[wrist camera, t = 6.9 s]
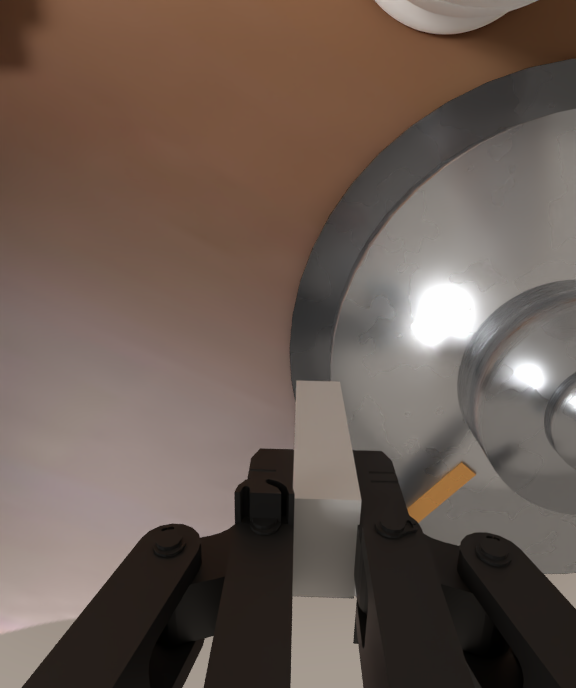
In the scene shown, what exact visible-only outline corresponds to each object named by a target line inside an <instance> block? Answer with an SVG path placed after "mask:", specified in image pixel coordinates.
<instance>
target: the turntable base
mask: <svg viewBox="0 0 576 688" xmlns="http://www.w3.org/2000/svg"><path fill="white" fill-rule="evenodd" d="M572 109H576V59H569V60H565V61H560V62H555V63H550V64H545V65H540V66H535V67H531V68H527V69H524V70H521V71H518V72H516V73H513V74H510V75H507V76H504V77H501V78H498V79H495V80H492V81H490V82H487V83H485V84H483V85H481V86H479V87H477V88H475V89H473V90H471V91H469V92H467V93H465V94H463V95H461V96H459V97H457V98H455V99H453V100H451V101H449V102H447V103H445V104H444V105H442V106H441V107H439V108H438V109H436V110H435V111H433V112H432V113H430V114H429V115H427V116H426V117H424V118H423V119H421V120H420V121H418V122H417V123H415V124H414V125H412V126H411V127H409V128H408V129H407V130H406V131H405V132H404V133H402V134H401V135H400V136H399V137H398V138H397V139H395V140H394V141H393V142H392V143H391V144H390V145H388V146H387V147H386V148H385V149H384V150H383V151H381V152H380V153H379V154H378V155H377V156H376V157H375V159H374V160H373V161H372V162H371V163H370V164H369V165H368V166H367V167H366V169H365V170H364V171H363V172H362V173H361V174H360V175H359V176H358V177H357V178H356V180H355V181H354V182H353V183H352V184H351V186H350V187H349V188H348V190H347V191H346V193H345V194H344V196H343V197H342V198H341V200H340V201H339V203H338V204H337V206H336V207H335V208H334V210H333V211H332V213H331V214H330V216H329V218H328V220H327V221H326V223H325V225H324V227H323V229H322V231H321V233H320V235H319V237H318V238H317V240H316V242H315V244H314V246H313V248H312V251H311V254H310V256H309V259H308V262H307V264H306V267H305V270H304V272H303V275H302V278H301V281H300V285H299V289H298V294H297V298H296V303H295V307H294V311H293V317H292V328H291V340H290V364H291V381H292V386H293V391H294V397H295V402H296V380H297V381H331V379H330V346H331V338H332V329H333V322H334V318H335V315H336V311H337V307H338V303H339V299H340V295H341V293H342V290H343V288H344V285H345V283H346V280H347V278H348V275H349V273H350V270H351V268H352V266H353V264H354V262H355V261H356V259H357V257H358V255H359V253H360V252H361V250H362V248H363V246H364V245H365V243H366V241H367V239H368V238H369V237H370V235H371V234H372V232H373V231H374V230H375V228H376V227H377V226H378V224H379V223H380V222H381V220H382V219H383V218H384V216H385V215H386V214H387V212H388V211H389V210H390V209H391V208H392V207H393V206H394V205H395V204H396V203H397V202H398V201H399V200H400V199H401V198H402V197H403V195H404V194H405V193H406V192H407V191H408V190H409V189H410V188H411V187H412V186H414V185H415V184H416V183H417V182H418V181H420V180H421V179H422V178H423V177H424V176H426V175H427V174H428V173H429V172H431V171H432V170H433V169H434V168H435V167H437V166H438V165H439V164H441V163H442V162H444V161H446V160H447V159H449V158H450V157H452V156H453V155H455V154H457V153H458V152H460V151H461V150H463V149H464V148H466V147H468V146H469V145H471V144H473V143H476V142H478V141H480V140H482V139H484V138H486V137H488V136H490V135H492V134H494V133H496V132H499V131H501V130H503V129H506V128H509V127H512V126H515V125H518V124H521V123H524V122H527V121H530V120H533V119H536V118H540V117H543V116H547V115H550V114H554V113H557V112H562V111H567V110H572Z"/></svg>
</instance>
